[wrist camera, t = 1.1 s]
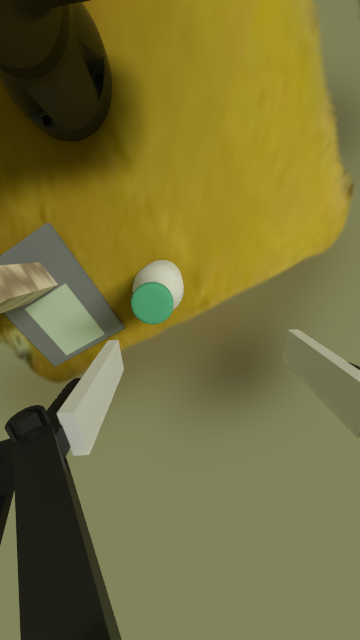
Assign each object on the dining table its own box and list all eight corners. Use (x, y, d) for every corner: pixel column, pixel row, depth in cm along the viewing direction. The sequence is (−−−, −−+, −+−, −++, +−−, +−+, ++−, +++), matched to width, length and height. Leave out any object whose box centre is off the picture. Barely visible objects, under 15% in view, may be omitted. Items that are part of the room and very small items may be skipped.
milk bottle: (156, 251, 36) (137, 251, 17) (188, 273, 38) (202, 295, 19) (137, 284, 38) (102, 315, 20) (168, 304, 40) (163, 349, 21)
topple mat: (-27, 277, 37) (-31, 277, 36) (50, 223, 34) (47, 222, 33) (56, 364, 45) (54, 366, 44) (125, 327, 42) (124, 328, 41)
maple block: (9, 281, 37) (-65, 295, 25) (39, 261, 36) (-24, 266, 24) (28, 303, 38) (-33, 325, 27) (58, 284, 37) (7, 299, 26)
